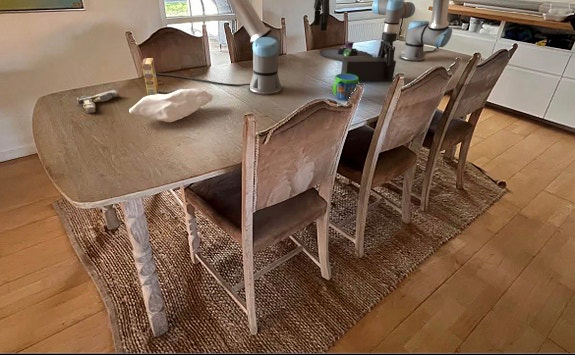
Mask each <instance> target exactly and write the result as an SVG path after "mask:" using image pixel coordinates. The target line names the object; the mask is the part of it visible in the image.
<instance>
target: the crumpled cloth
mask: <svg viewBox="0 0 575 355" xmlns="http://www.w3.org/2000/svg"><path fill="white" fill-rule="evenodd" d="M213 97H214V96H213V94H212V93H210V92H208V91H206V90H203V89H201V88H187V89H186V88H185V89H184V88H183V89H177V90H175V91H173V92H171V93H167V94H163V93H158V94H156V95H150V96H148V95H146V96H144V97H142V98H141V99H140V100H139V101H138V102H137V103H136V104H134V105H133V106H132V107H131V108H129V114H130V115H135V116H140V117H145V118H146V119H149V120H152V121H155V120H158V121H163V122H166V123H174V122H176V121H178V120H181V119H183V118H185V117H188V116H190V115H192V114H193V113H195V112H196V111H197V110H199V109H200V108H202V107H204V106H206V105H207V104H210V102H211V101H212V100H213V99H214V98H213Z"/></svg>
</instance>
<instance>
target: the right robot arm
mask: <svg viewBox="0 0 575 355" xmlns="http://www.w3.org/2000/svg"><path fill="white" fill-rule="evenodd" d="M449 6H450V0H432V10H431V11H432V12H431V19H430V20H414V21H410V22H409V24H408V28H407V33H406V38H405V43H404V47H403V48H402V50H401V52H400V53H399V59H401V60H404V61H408V62H423V61H424V59H425V53H434V52H436V51H437V50H438V49H440V48H444V47H445V46H446V45H447V44H448V43H449V41H450V39H451V37H452V35H453V28H452V27H450V22H449V21H448V14H449V13H448V12H449ZM371 11H372V13H373V14H376V15H380V16H385V17H384V20H383V21H384V22H383V26H382V33H381V41H380V43H379V49H378V53H377V56H376V57H386V66H385V70H384V76H383V79H388V78H389V72H390V67H393V62H394V60H395V51H396V46H394V42H396V41H397V39H398V32H399V28H400V22H401V20H403V19H409V18H411V17H412V16H414V14H415V12H416V5H415V4H414V2H412V1H404V0H373V2H372V5H371ZM425 45H427V46H432V47H435V49H432V50H424V47H425ZM436 48H437V49H436Z"/></svg>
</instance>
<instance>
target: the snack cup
mask: <svg viewBox="0 0 575 355" xmlns="http://www.w3.org/2000/svg"><path fill="white" fill-rule="evenodd" d="M334 79H335V80H334V83H333V86H332V88H331V90H332V91H331V92H332V93H333V95H336V98H337V99H338V100H341V101H349V100H348V99H349V97H350V95H351V93H352V92H354V93H355V91H356V88H355V86H356V84H358V85H359V82H358V80H359V79H358V77H357V76H355V75H352V74H341V73H337V74H336V75H335V76H334ZM354 90H355V91H354Z"/></svg>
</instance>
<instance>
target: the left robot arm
mask: <svg viewBox="0 0 575 355" xmlns="http://www.w3.org/2000/svg"><path fill="white" fill-rule="evenodd" d="M226 1H227V3H228V4H229V6H230V7H231V9H232V11H233V12H234V13H235V15H236V16H237V18H238V20H239V21H240V22H241V24H242V26H243V28H244V29H245V30H246V33H247V34H248V36H249V37H250V41H249V42H250V44H251V46H252V69H253V70H252V77H251V81H250V83H239V84H238V83H226V82H217V81H213V80H206V79H202V78H196V77H191V76H185V75H179V74H170V73H161V72H156V76H165V77H174V78H181V79H187V80H192V81H198V82H203V83H209V84H215V85H222V86H231V87H244V86H249V91H250V92H251V93H253V94H255V95H261V96H271V95H277V94H279V93H281V92H282V85H281V81H280V78H279V56H280V54H281V50H282V45H281V41H280V40H279V38H278V37H277V36H276V35H275V34H274V33H273V31H272V29H271V28H270V27H267V26H266V25H265V24H264V22H263V21H262V19H261V17H260V15H259V14H258V13H257V11H256V9H255V7H254V6H253V4H252V3H251V0H226ZM313 9H314V14H313V15H314V18H313V26H320V31H321V32H325V31H327V29H328V17H329V16H330V0H314V4H313Z"/></svg>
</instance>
